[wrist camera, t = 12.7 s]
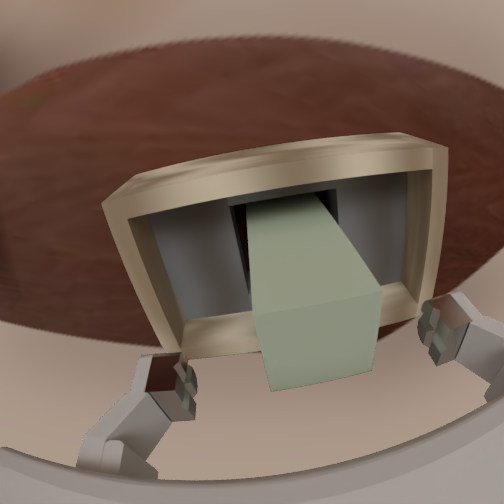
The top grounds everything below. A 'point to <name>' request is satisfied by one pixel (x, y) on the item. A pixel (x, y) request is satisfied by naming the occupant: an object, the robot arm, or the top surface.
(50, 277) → the top surface
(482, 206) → the top surface
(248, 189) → the box
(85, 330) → the top surface
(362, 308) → the peg
